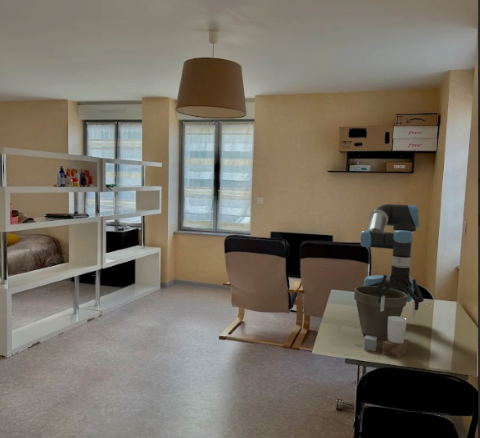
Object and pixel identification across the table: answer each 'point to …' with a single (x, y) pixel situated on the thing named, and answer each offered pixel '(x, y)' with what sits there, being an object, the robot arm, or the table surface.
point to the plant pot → (377, 309)
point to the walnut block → (395, 348)
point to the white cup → (396, 329)
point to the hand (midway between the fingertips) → (397, 313)
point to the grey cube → (370, 343)
